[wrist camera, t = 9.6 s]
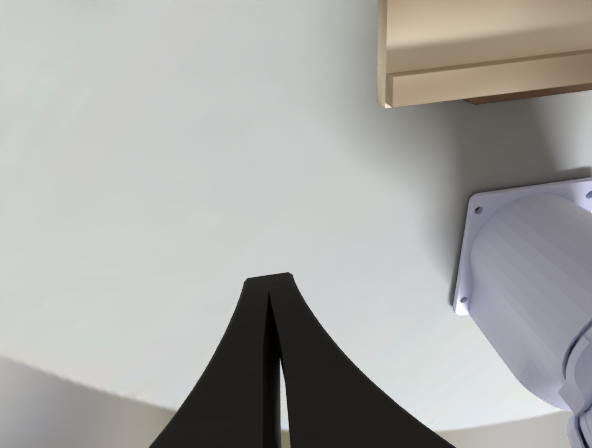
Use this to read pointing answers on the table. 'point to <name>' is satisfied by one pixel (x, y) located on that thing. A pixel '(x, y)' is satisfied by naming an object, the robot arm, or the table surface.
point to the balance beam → (479, 48)
